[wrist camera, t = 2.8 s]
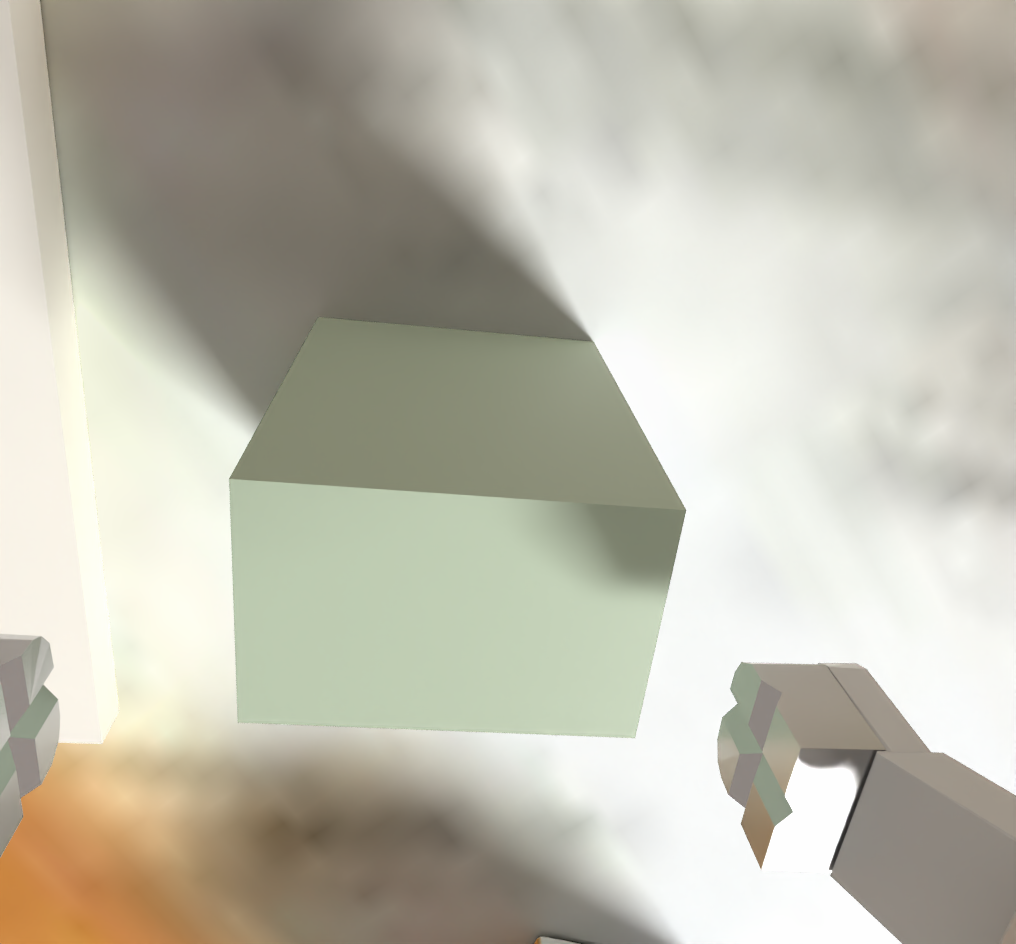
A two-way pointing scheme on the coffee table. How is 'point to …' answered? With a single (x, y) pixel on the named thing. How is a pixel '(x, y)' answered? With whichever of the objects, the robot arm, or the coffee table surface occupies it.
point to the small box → (551, 941)
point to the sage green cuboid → (449, 538)
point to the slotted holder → (45, 405)
